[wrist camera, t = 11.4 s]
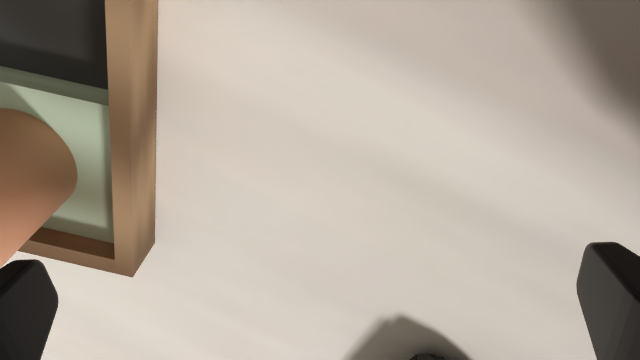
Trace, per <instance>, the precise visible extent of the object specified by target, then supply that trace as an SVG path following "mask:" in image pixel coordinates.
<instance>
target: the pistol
mask: <svg viewBox="0 0 640 360" xmlns="http://www.w3.org/2000/svg"><path fill="white" fill-rule="evenodd" d="M410 360H446V359H444V358H443V357H440V356H436V355H432V354H430V355H419V356H418V355H415V356H413V357H412V358H411V359H410Z"/></svg>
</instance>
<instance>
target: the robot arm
mask: <svg viewBox="0 0 640 360" xmlns="http://www.w3.org/2000/svg"><path fill="white" fill-rule="evenodd" d="M577 295H578V298H579V302H580V305H581V308H582V312H583V315H584V318H585V321H586V325H587V328H588V331H589V335H590V338H591V341H592V344H593V348H594V351H595V354H596V358H597V360H640V256H638V255H636V254H635V253H633V252H632V251H630V250H628V249H627V248H625V247H624V246H622V245H620V244H618V243H616V242H593V243H590V244H588V245H587V246H586V248H585V251H584V254H583V258H582V262H581V266H580V270H579V274H578V278H577ZM57 308H58V295H57V292H56V290H55V287H54V285H53V283H52V281H51V279H50V277H49V275H48V272H47V270H46V268H45V266H44V264H43V263H42V262H40V261H39V260H35V259H34V260H15V261H12V262H10V263H9V264H7V265H5V266H4V267H2V268H0V360H40V359H41V356H42V353H43V350H44V347H45V344H46V341H47V338H48V335H49V332H50V329H51V326H52V323H53V320H54V317H55V314H56V311H57Z"/></svg>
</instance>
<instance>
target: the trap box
mask: <svg viewBox="0 0 640 360" xmlns="http://www.w3.org/2000/svg"><path fill="white" fill-rule="evenodd" d="M157 38H158V0H0V108H7V109H14V110H19V111H22V112H25V113H27V114H30V115H32V116H34V117H36V118H38V119H39V120H41V121H43V122H44V123H45V124H47V125H48V126H49V127H51V128H52V129H53V130H54V131H55V132H56V133H57V134H58V135H59V136H60V137H61V138H62V139H63V141H64V142H65V143H66V145H67V146H68V148H69V149H70V151H71V153H72V155H73V157H74V160H75V163H76V167H77V174H78V177H77V185H76V188H75V190H74V192H73V194H72V195H71V196H70V197H69V198H68V199H67V200H66V201H65V202H64V203H63V204H62V205H61V206H60V208H59V209H58V210H57V211H56V212H55V213H54V214H53V215H52V216H51V217H50V218H49V219H48V220H47V221H46V222H45V223H44V224H43V225H42V226H41V227H40V228H39V229H38V230H37V231H36V232H35V233H34V234H33V235H32V236H31V237H30V238H29V239H28V240H27V241H26V242H25V243H24V244H23V245H22V246H21V247H20V248H19V249H18V250H17V251H21V252H25V253H30V254H34V255H38V256H43V257H47V258H51V259H56V260H60V261H64V262H69V263H73V264H77V265H81V266H86V267H90V268H94V269H99V270H103V271H107V272H112V273H116V274H120V275H125V276H129V277H133V276H134V274H135V273H136V271H137V270H138V268H139V267H140V265H141V263H142V262H143V260H144V259H145V257H146V256H147V254H148V253H149V251H150V250H151V248H152V246H153V245H154V243H155V179H156V109H157Z"/></svg>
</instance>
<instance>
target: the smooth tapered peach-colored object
mask: <svg viewBox="0 0 640 360" xmlns="http://www.w3.org/2000/svg"><path fill="white" fill-rule="evenodd" d="M77 177H78V174H77V167H76V163H75V160H74V157H73V155H72V153H71V151H70V149H69V148H68V146H67V145H66V143H65V142H64V141H63V139H62V138H61V137H60V136H59V135H58V134H57V133H56V132H55V131H54V130H53V129H52V128H51V127H49V126H48V125H47V124H45V123H44V122H43V121H41V120H39V119H38V118H36V117H34V116H32V115H30V114H27V113H25V112H22V111H19V110H14V109H7V108H0V268H1V267H2V266H3V265H4V264H5V263H6V262H7V261H8V260H9V259H10V258H11V257H12V256H13V254H14V253H15V252H16V251H17V250H18V249H19V248H20V247H21V246H22V245H23V244H24V243H25V242H26V241H27V240H28V239H29V238H30V237H31V236H32V235H33V234H34V233H35V232H36V231H37V230H38V229H39V228H40V227H41V226H42V225H43V224H44V223H45V222H46V221H47V220H48V219H49V218H50V217H51V216H52V215H53V214H54V213H55V212H56V211H57V210H58V209H59V208H60V206H61V205H62V204H63V203H64V202H65V201H66V200H67V199H68V198H69V197H70V196H71V195H72V194H73V192H74V190H75V188H76V185H77Z"/></svg>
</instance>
